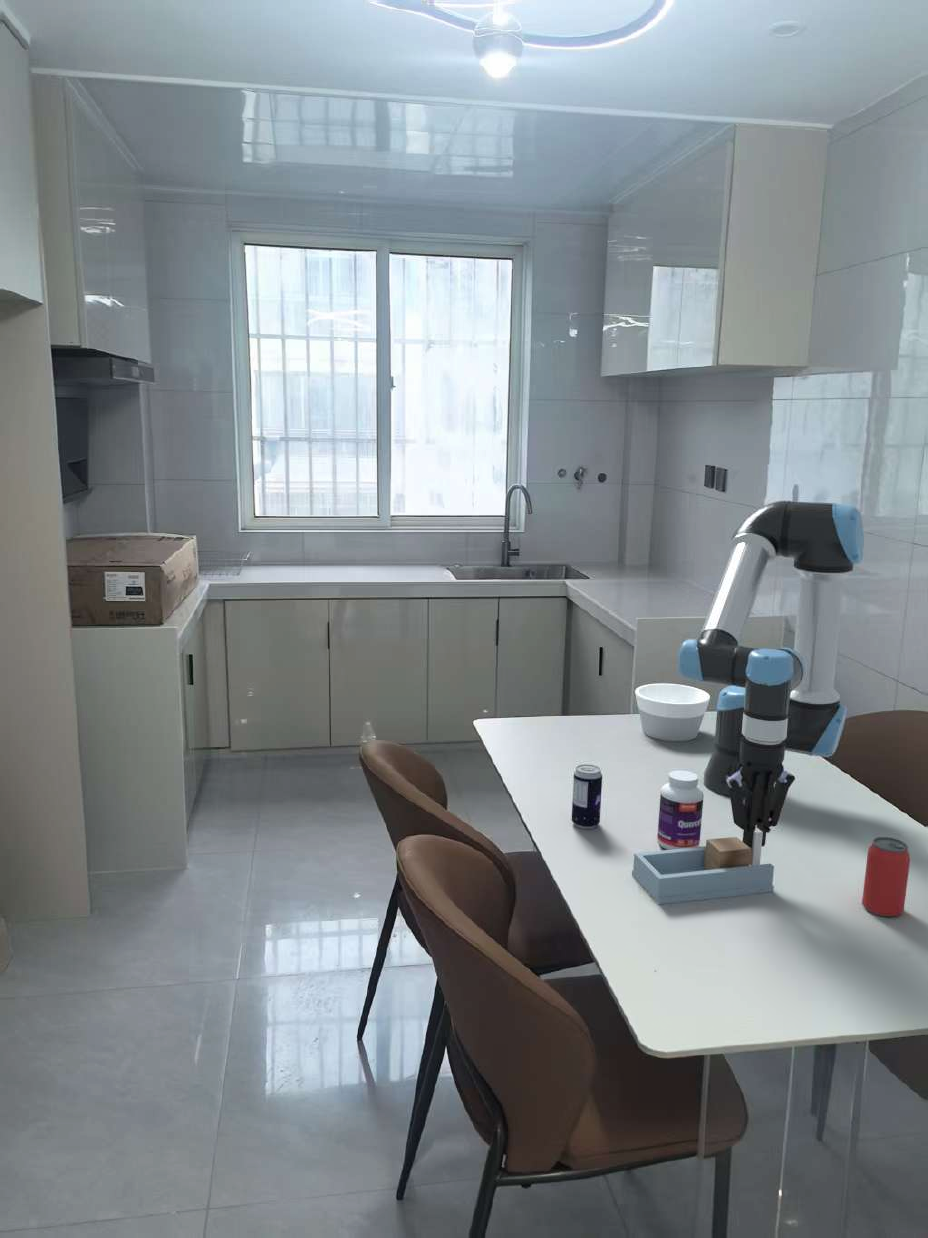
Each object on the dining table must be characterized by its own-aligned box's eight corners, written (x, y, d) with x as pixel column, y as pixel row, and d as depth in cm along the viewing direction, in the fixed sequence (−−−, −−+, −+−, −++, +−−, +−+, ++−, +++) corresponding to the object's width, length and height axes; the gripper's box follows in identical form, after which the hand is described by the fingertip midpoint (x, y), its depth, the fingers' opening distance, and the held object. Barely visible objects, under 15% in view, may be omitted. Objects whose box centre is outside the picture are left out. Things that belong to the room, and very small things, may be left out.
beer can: (900, 922, 161) (908, 855, 159) (858, 911, 165) (865, 845, 162) (906, 906, 167) (914, 841, 164) (865, 895, 170) (873, 832, 168)
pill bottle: (677, 858, 183) (682, 786, 180) (648, 842, 189) (652, 772, 186) (708, 849, 187) (714, 778, 184) (678, 834, 194) (683, 765, 191)
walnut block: (733, 867, 177) (736, 836, 176) (748, 880, 173) (751, 848, 171) (703, 870, 176) (706, 839, 175) (717, 883, 171) (720, 851, 170)
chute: (740, 863, 181) (742, 841, 180) (773, 891, 171) (775, 867, 170) (631, 875, 176) (633, 852, 175) (658, 904, 165) (660, 880, 164)
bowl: (632, 741, 249) (635, 701, 246) (632, 718, 267) (635, 681, 265) (709, 747, 246) (713, 706, 243) (704, 724, 264) (707, 685, 262)
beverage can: (598, 831, 194) (601, 775, 191) (570, 828, 195) (572, 772, 192) (600, 820, 199) (603, 765, 197) (572, 817, 200) (575, 762, 198)
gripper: (783, 729, 175) (772, 850, 180) (719, 733, 172) (709, 857, 177) (808, 742, 168) (795, 868, 173) (741, 747, 165) (730, 875, 170)
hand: (752, 862), depth 175 cm, fingers closed
